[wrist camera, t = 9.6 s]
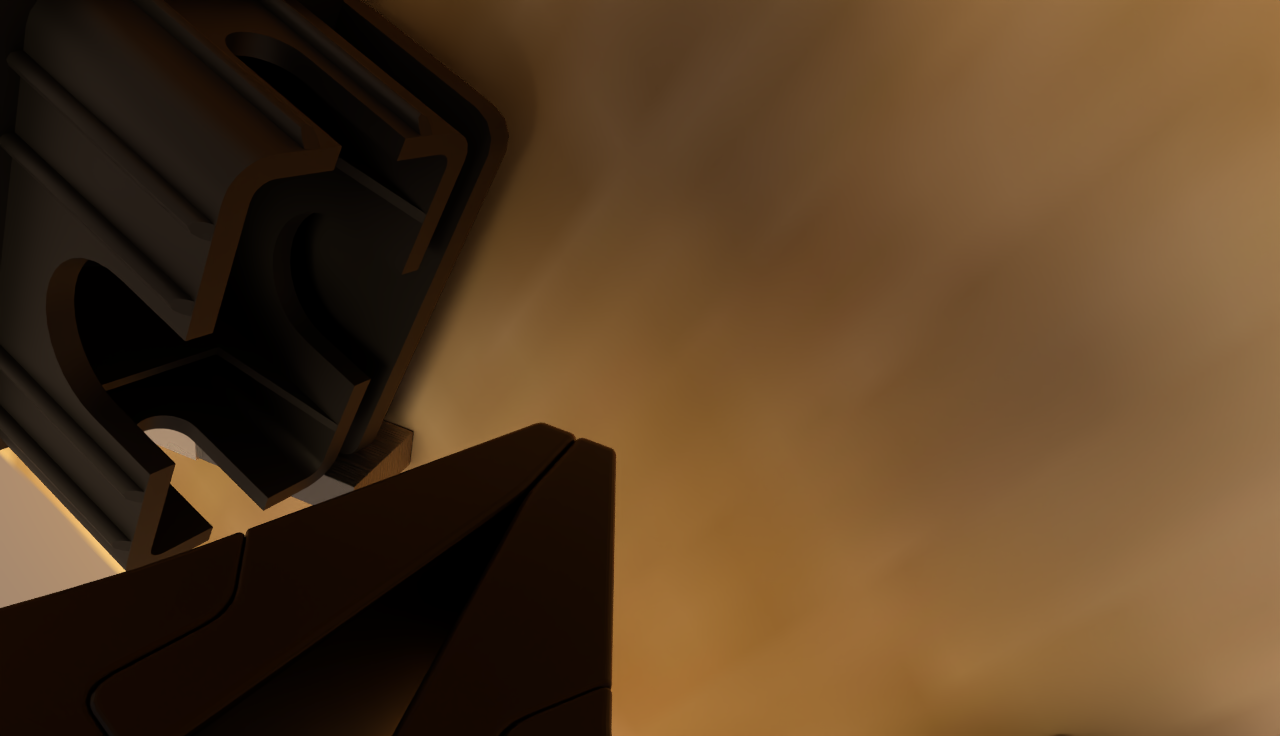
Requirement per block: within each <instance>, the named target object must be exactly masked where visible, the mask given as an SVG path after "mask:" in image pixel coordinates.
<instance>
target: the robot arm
mask: <svg viewBox="0 0 1280 736" xmlns="http://www.w3.org/2000/svg"><path fill="white" fill-rule="evenodd" d="M615 481H616V453H615V451H614V450H613V449H612V448H609V447H607V446H604V445H601V444H599V443H596V442H593V441H591V440H588V439H585V438H579V439H577V440H576V437H575V436H574V434H572V433H570V432H567V431H564V430H562V429H559V428H556V427H554V426H551V425H548V424H546V423H536V424H533V425H530V426H528V427H525V428H522V429H519V430H517V431H514V432H511V433H509V434H506V435H503V436H500V437H498V438H495V439H492V440H490V441H487V442H484V443H481V444H479V445H476V446H473V447H470V448H468V449H465V450H462V451H460V452H457V453H454V454H451V455H449V456H446V457H443V458H441V459H438V460H435V461H432V462H430V463H427V464H424V465H421V466H419V467H416V468H413V469H411V470H408V471H405V472H402V473H400V474H397V475H394V476H392V477H389V478H386V479H383V480H381V481H378V482H375V483H372V484H370V485H367V486H364V487H362V488H359V489H356V490H353V491H351V492H348V493H345V494H343V495H340V496H337V497H334V498H332V499H329V500H326V501H323V502H321V503H318V504H315V505H313V506H310V507H307V508H304V509H302V510H299V511H296V512H293V513H291V514H288V515H285V516H283V517H280V518H277V519H274V520H272V521H269V522H266V523H264V524H261V525H258V526H255V527H253V528H250V529H248V530H247V532H246V535H244V534H243V533H235V534H233V535H230V536H227V537H225V538H222V539H219V540H216V541H214V542H211V543H208V544H206V545H203V546H200V547H197V548H194V549H191V550H188V551H186V552H183V553H180V554H177V555H174V556H171V557H168V558H165V559H162V560H159V561H156V562H153V563H151V564H148V565H145V566H142V567H139V568H136V569H133V570H129V571H126V572H123V573H119V574H116V575H113V576H109V577H106V578H103V579H100V580H96V581H93V582H90V583H86V584H83V585H79V586H76V587H73V588H70V589H66V590H63V591H60V592H56V593H52V594H49V595H45V596H42V597H38V598H34V599H31V600H28V601H24V602H20V603H17V604H13V605H10V606H6V607H3V608H0V736H612V733H611V719H612V692H611V686H612V643H613V589H614V535H615Z"/></svg>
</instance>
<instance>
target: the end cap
mask: <svg viewBox="0 0 1280 736" xmlns="http://www.w3.org/2000/svg"><path fill="white" fill-rule="evenodd" d="M508 138H509V133H508V129H507V125H506V121H505V118H504V117H503V116H502V115H501V113H500V112H499V111H498V109H497V108H496V107H495V106H494V105H493V104H492V103H490V102H489V101H488V100H487V99H485V98H484V97H483V96H482V95H480V94H479V93H478V92H477V91H475V90H474V89H473V88H472V87H470V86H469V85H468V84H467V83H465V82H464V81H463V80H462V79H460V78H459V77H458V76H457V75H455V74H454V73H453V72H452V71H450V70H449V69H448V68H447V67H445V66H444V65H443V64H442V63H440V62H439V61H438V60H437V59H435V58H434V57H433V56H432V55H430V54H429V53H428V52H427V51H425V50H424V49H423V48H421V47H420V46H419V45H418V44H416V43H415V42H414V41H413V40H411V39H410V38H409V37H408V36H406V35H405V34H404V33H403V32H401V31H400V30H399V29H398V28H396V27H395V26H394V25H393V24H391V23H390V22H389V21H388V20H386V19H385V18H384V17H383V16H381V15H380V14H379V13H378V12H376V11H375V10H374V9H372V8H371V7H369V6H368V5H366V4H365V3H363V2H362V1H360V0H0V450H2V449H5V448H7V447H9V448H10V449H11V450H12V451H13V452H14V453H15V454H16V455H17V456H18V457H19V458H20V459H21V460H22V461H23V462H24V464H25V465H26V466H27V467H28V468H29V469H30V470H31V471H32V472H33V473H34V474H35V475H36V476H37V477H38V478H39V479H40V480H41V482H42V483H43V484H44V485H45V486H46V487H47V488H48V489H49V490H50V491H51V492H52V493H53V494H54V495H55V496H56V497H57V498H58V500H59V501H60V502H61V503H62V504H63V505H64V506H65V507H66V508H67V509H68V510H69V511H70V512H71V513H72V514H73V515H74V516H75V518H76V519H77V520H78V521H79V522H80V523H81V524H82V525H83V526H84V527H85V528H86V529H87V530H88V531H89V532H90V533H91V534H92V536H93V537H94V538H95V539H96V540H97V541H98V542H99V543H100V544H101V545H102V546H103V547H104V548H105V549H106V550H107V551H108V552H109V554H110V555H111V556H112V557H113V558H114V559H115V560H116V561H117V562H118V563H119V564H120V565H121V566H122V567H123V568H124V569H125V570H126V571H129V570H133V569H136V568H139V567H142V566H145V565H148V564H151V563H153V562H156V561H159V560H162V559H165V558H168V557H171V556H174V555H177V554H180V553H183V552H186V551H188V550H191V549H193V548H194V547H196V546H198V545H200V544H202V543H204V542H206V541H208V540H209V537H210V534H211V531H212V528H213V527H212V526H211V525H210V524H209V523H208V522H207V521H206V520H205V519H204V518H203V517H202V516H201V515H200V514H199V513H198V512H197V511H196V510H195V509H194V507H193V506H192V505H191V504H190V503H189V502H188V501H187V500H186V499H185V498H184V497H183V496H182V495H181V494H180V493H179V492H178V491H177V490H176V489H175V488H174V487H173V486H172V485H171V484H170V481H171V478H172V474H173V471H174V467H175V463H174V462H173V461H172V460H171V459H170V458H169V457H168V456H167V455H166V454H165V453H164V452H163V451H162V450H161V449H160V448H159V447H158V446H157V445H156V444H155V443H154V442H153V441H152V440H151V439H150V438H149V436H148V435H147V434H146V433H145V432H144V431H147V430H152V429H170V430H174V431H178V432H180V433H183V434H184V435H186V436H188V437H189V438H190V439H191V440H193V441H194V442H195V443H196V444H197V445H198V446H199V447H200V448H201V449H202V450H203V451H204V452H205V453H206V454H207V455H208V456H209V457H210V458H211V459H212V460H213V461H214V462H215V463H216V464H217V465H218V466H219V467H220V468H221V469H222V470H223V471H224V472H225V473H226V474H227V475H228V476H229V477H230V478H231V479H232V480H233V481H234V482H235V483H236V484H237V485H238V486H239V487H240V488H241V489H242V490H243V491H244V492H245V493H246V494H247V495H248V496H249V497H250V498H251V499H252V500H253V501H254V502H255V503H256V504H257V505H258V506H259V507H260V508H261V509H262V510H263V511H264V510H266V509H268V508H270V507H271V506H273V505H275V504H277V503H279V502H281V501H283V500H285V499H286V498H288V497H290V496H292V495H294V494H296V493H298V492H300V491H301V490H303V489H305V488H307V487H309V486H310V485H312V484H313V483H315V482H316V481H317V480H318V479H320V478H321V477H322V476H323V475H324V474H325V473H326V472H327V471H328V470H329V469H330V467H331V466H332V465H333V463H334V462H335V460H336V458H337V456H338V454H339V452H340V453H342V454H353V453H355V452H357V451H358V450H360V449H362V448H364V447H366V446H368V445H369V444H370V443H371V442H372V441H373V440H374V439H375V437H376V435H377V432H378V430H379V428H380V426H381V424H382V421H383V419H384V417H385V415H386V413H387V410H388V408H389V406H390V404H391V402H392V400H393V397H394V395H395V393H396V391H397V389H398V386H399V384H400V382H401V380H402V378H403V375H404V373H405V371H406V369H407V367H408V365H409V362H410V360H411V358H412V356H413V354H414V351H415V349H416V347H417V345H418V343H419V340H420V338H421V336H422V334H423V332H424V330H425V327H426V325H427V323H428V321H429V319H430V316H431V314H432V312H433V310H434V308H435V306H436V303H437V301H438V299H439V297H440V295H441V292H442V290H443V288H444V286H445V284H446V281H447V279H448V277H449V275H450V273H451V271H452V268H453V266H454V264H455V262H456V260H457V257H458V255H459V253H460V251H461V249H462V246H463V244H464V242H465V240H466V238H467V236H468V233H469V231H470V229H471V227H472V225H473V222H474V220H475V218H476V216H477V214H478V211H479V209H480V207H481V205H482V203H483V201H484V198H485V196H486V194H487V192H488V190H489V187H490V185H491V183H492V181H493V179H494V176H495V174H496V172H497V170H498V168H499V166H500V163H501V161H502V159H503V157H504V155H505V152H506V149H507V144H508Z"/></svg>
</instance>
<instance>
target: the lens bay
mask: <svg viewBox="0 0 1280 736" xmlns="http://www.w3.org/2000/svg"><path fill="white" fill-rule="evenodd" d="M144 432H145V433H146V434H147V435H148V436H149V438H150V439H151V440H152V441H153V442H154V443H155V444H157V445H160V446H162V447H165V448H167V449H169V450H172V451H174V452H177V453H179V454H181V455H184V456H186V457H189V458H191V459H194V460H197V459H199V458H200V459H203V460H205V461H207V462H210V463H212V464H215V465H217V464H216V463H215V462H214V461H213V460H212V459H211V458H210V457H209V456H208V455H207V454H206V453H205V452H204V451H203V450H202V449H201V448H200V447H199V446H198V445H197V444H196V443H195V442H194V441H193V440H191V439H190V438H189V437H188V436H186V435H184V434H183V433H180V432H178V431H174V430H170V429H152V430H147V431H144ZM412 437H413V432H412V431H409V430H407V429H404V428H402V427H399V426H396V425H394V424H391V423H389V422H386V421H384V420H383V421H382V424H381V426H380V428H379V430H378V432H377V435H376V437H375V439H374V440H373V441H372V442H371V443H370V444H369V445H368V446H366V447H364V448H362V449H360V450H358V451H357V452H355V453H353V454H342V453H340V452H339V454H338V456H337V458H336V460H335V462H334V463H333V465H332V466H331V467H330V469H329V470H328V471H327V472H326V473H325V474H324V475H323V476H322V477H321V478H320V479H318V480H317V481H316V482H315V483H313V484H312V485H310V486H309V487H307V488H305V489H303V490H301V491H300V492H298V493H296V494H294V495H292V497H294V498H297V499H299V500H302V501H304V502H307V503H309V504H311V505H315V504H318V503H321V502H323V501H326V500H329V499H332V498H334V497H337V496H340V495H343V494H345V493H348V492H351V491H353V490H356V489H359V488H362V487H364V486H367V485H370V484H372V483H375V482H378V481H381V480H383V479H386V478H389V477H392V476H394V475H397V474H400V473H401V472H402V471H403V470H404V469H405V468H406V467H407V466H408V465H409V464H410V455H411V446H412ZM217 466H218V465H217Z"/></svg>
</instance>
